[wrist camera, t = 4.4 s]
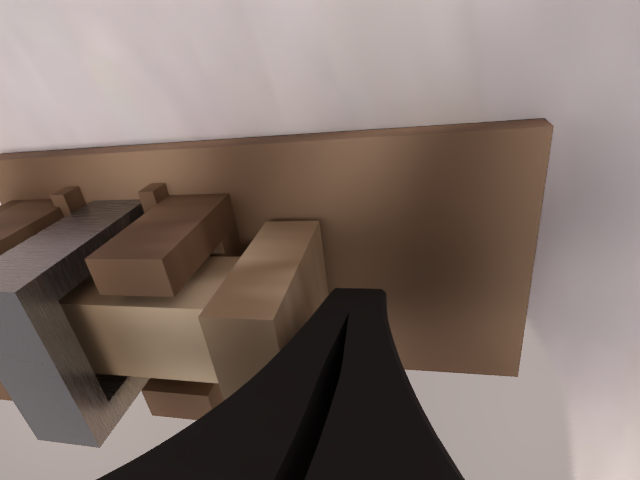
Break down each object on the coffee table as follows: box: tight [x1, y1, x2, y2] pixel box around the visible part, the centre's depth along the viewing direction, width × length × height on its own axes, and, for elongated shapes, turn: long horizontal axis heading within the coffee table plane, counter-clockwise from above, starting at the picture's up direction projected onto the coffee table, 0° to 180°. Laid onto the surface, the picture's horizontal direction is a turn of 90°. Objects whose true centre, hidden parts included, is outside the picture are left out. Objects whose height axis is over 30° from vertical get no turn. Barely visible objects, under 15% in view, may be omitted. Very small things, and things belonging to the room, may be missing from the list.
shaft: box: [58, 221, 329, 400], centre depth 12 cm, size 9×4×4 cm, turn 97°
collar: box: [0, 199, 150, 448], centre depth 12 cm, size 2×5×5 cm, turn 7°
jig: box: [0, 118, 553, 420], centre depth 12 cm, size 17×8×5 cm, turn 97°
